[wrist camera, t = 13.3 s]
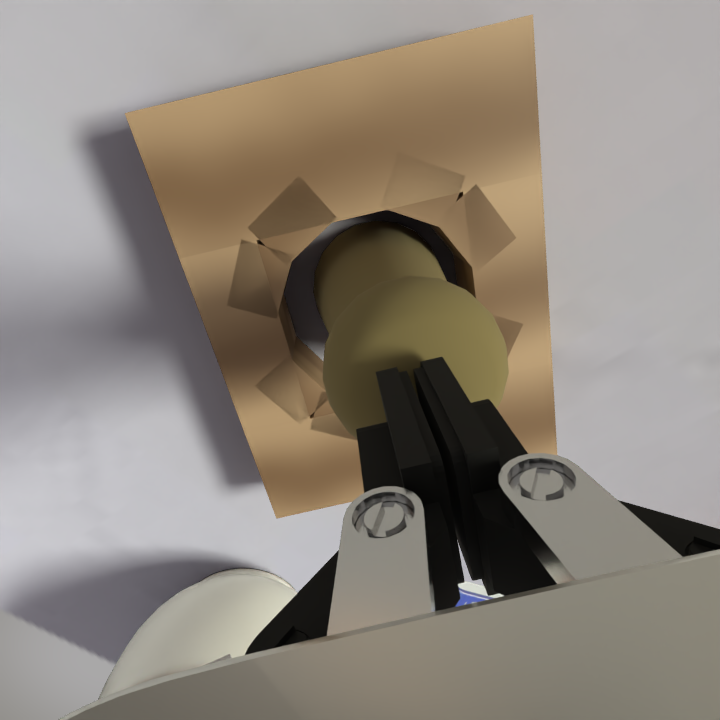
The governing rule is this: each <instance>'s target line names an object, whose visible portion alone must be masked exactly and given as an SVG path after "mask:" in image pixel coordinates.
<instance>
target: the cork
mask: <svg viewBox="0 0 720 720" xmlns="http://www.w3.org/2000/svg"><path fill="white" fill-rule="evenodd" d="M313 292H314V296H315V300H316V304H317V308H318V311H319V314H320V316H321V318H322V320H323V323H324V325H325V327H326V329H327V331H328V334H329V336H328V339H327V341H326V343H325V350H324V363H323V383H324V386H325V390H326V394H327V397H328V401H329V404H330V406H331V408H332V409H333V411H334V413H335V414H336V415H337V417H338V418H339V420H340V421H341V423H342V424H343V425H344V427H345V428H346V430H347V431H348V433H350V434H351V435H353V436H354V437H355V438H357V432H356V429H358V428H362V427H367V426H371V425H375V424H380V423H384V422H387V421H386V416H385V412H384V407H383V403H382V399H381V394H380V390H379V385H378V381H377V376H376V372H377V371H381V370H386V369H390V368H394V367H397V368H398V371H399V372H403V371H407V372H408V375H409V377H410V380H411V382H412V385H413V387H414V390H415V392H416V395H417V397H418V394H417V389H416V384H415V378H414V373H413V369H416V368H420V362H421V361H425V360H429V359H434V358H438V357H443V358H444V360H445V361H446V363H447V365H448V366H449V368H450V370H451V371H452V373H453V374H454V376H455V378H456V379H457V381H458V383H459V384H460V386H461V387H462V389H463V391H464V392H465V394H466V396H467V397H468V399H469V400H470V402H471V403H472V402H476V401H480V400H485V399H489V400H490V401H491V402H492V403H493V405H494V406H495V407H496V409H497V407H498V406H499V404H500V402H501V400H502V398H503V394H504V390H505V386H506V382H507V378H508V374H509V369H508V358H507V347H506V344H505V340H504V338H503V335H502V333H501V331H500V329H499V327H498V325H497V323H496V321H495V319H494V317H493V315H492V313H490V312H489V311H488V310H487V309H486V308H485V307H484V306H483V305H482V304H481V303H480V302H479V301H478V300H477V299H476V298H475V297H474V296H473V295H472V294H470V293H469V292H468V291H467V290H465V289H463V288H461V287H459V286H456V285H454V284H452V283H450V282H447V280H446V278H445V276H444V273H443V271H442V269H441V266H440V264H439V262H438V260H437V258H436V256H435V254H434V252H433V250H432V248H431V246H430V245H429V244H428V243H427V242H426V241H425V240H424V239H423V238H422V237H421V236H420V235H419V234H418V233H417V232H416V231H414V230H412V229H410V228H407V227H405V226H403V225H401V224H399V223H396V222H386V221H376V220H375V221H371V222H367V223H362V224H358V225H354V226H353V227H351V228H349V229H348V230H346V231H344V232H343V233H341V234H339V235H338V236H336V237H335V239H334V240H333V241H332V242H331V243H330V244H329V246H328V247H327V248H326V249H325V250H324V251H323V253H322V255H321V258H320V260H319V263H318V265H317V267H316V270H315V276H314V290H313ZM418 400H419V399H418Z"/></svg>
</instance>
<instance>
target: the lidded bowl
mask: <svg viewBox="0 0 720 720" xmlns="http://www.w3.org/2000/svg"><path fill="white" fill-rule="evenodd" d="M296 594H297V592H296V591H295V590H294V588H293V587H292V586H291V585H290V584H289V583H287V582H286V581H285V580H283V579H282V578H280V577H278V576H276V575H274V574H271V573H269V572H266V571H261V570H257V569H248V568H238V569H229V570H225V571H221V572H218V573H215V574H212V575H210V576H208V577H207V578H205V579H203V580H202V581H201V582H199V583H196V584H194V585H192V586H190V587H188V588H186V589H184V590H182V591H180V592H179V593H177V594H176V595H174V596H173V597H172V598H170V599H169V600H168V601H167V602H165V603H164V604H163V605H161V606H160V607H159V608H158V609H157V610H156V611H155V612H154V613H153V614H152V615H151V616H150V617H149V618H148V619H147V620H146V621H145V623H144V624H143V625H142V626H141V627H140V628H139V629H138V630H137V632H136V633H135V635H134V636H133V638H132V639H131V641H130V642H129V643H128V645H127V646H126V648H125V650H124V651H123V653H122V655H121V656H120V658H119V660H118V661H117V663H116V665H115V667H114V669H113V670H112V672H111V674H110V676H109V677H108V679H107V681H106V683H105V686H104V688H103V690H102V692H101V694H100V696H99V699H101V698H104V697H106V696H108V695H110V694H113V693H116V692H118V691H121V690H124V689H127V688H129V687H132V686H135V685H138V684H141V683H143V682H146V681H149V680H152V679H155V678H159V677H163V676H167V675H170V674H174V673H178V672H181V671H185V670H189V669H192V668H196V667H200V666H203V665H206V664H208V663H210V662H212V661H215V660H217V659H219V658H221V657H224V656H226V655H228V654H230V655H231V657H232V658H235V657H239V656H243V655H245V653H246V651H247V649H248V647H249V646H250V644H251V643H252V642H253V640H254V639H255V638H256V636H257V635H258V634H259V633H260V632H261V631H262V630H263V629H264V628H265V627H266V626H267V625H268V623H269V622H270V621H271V620H272V619H273V618H274V617H275V616H276V615H277V614H278V613H279V612H280V611H281V610H282V609H283V608H284V607H285V606H286V605H287V604H288V603H289V602H290V601H291V599H292V598H293V597H294V596H295V595H296ZM99 699H98V700H99Z"/></svg>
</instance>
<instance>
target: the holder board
mask: <svg viewBox="0 0 720 720" xmlns="http://www.w3.org/2000/svg"><path fill="white" fill-rule="evenodd" d="M125 115H126V118H127V120H128V123H129V126H130V128H131V131H132V134H133V136H134V139H135V142H136V144H137V147H138V150H139V152H140V155H141V158H142V160H143V163H144V166H145V168H146V171H147V174H148V176H149V179H150V182H151V185H152V187H153V190H154V193H155V195H156V198H157V201H158V203H159V206H160V209H161V211H162V214H163V217H164V219H165V222H166V225H167V227H168V230H169V233H170V235H171V238H172V241H173V243H174V246H175V249H176V251H177V254H178V257H179V259H180V262H181V265H182V267H183V270H184V273H185V275H186V278H187V281H188V283H189V286H190V289H191V291H192V294H193V297H194V299H195V302H196V305H197V307H198V310H199V313H200V315H201V318H202V321H203V323H204V326H205V329H206V331H207V334H208V337H209V339H210V342H211V345H212V347H213V350H214V353H215V355H216V358H217V361H218V363H219V366H220V369H221V371H222V374H223V377H224V379H225V382H226V385H227V387H228V390H229V393H230V395H231V398H232V401H233V403H234V406H235V409H236V411H237V414H238V417H239V419H240V422H241V425H242V427H243V430H244V433H245V435H246V438H247V441H248V443H249V446H250V449H251V451H252V454H253V457H254V459H255V462H256V465H257V467H258V470H259V473H260V476H261V478H262V481H263V484H264V486H265V489H266V492H267V494H268V497H269V500H270V502H271V505H272V508H273V510H274V513H275V516H276V518H281V517H285V516H290V515H294V514H299V513H303V512H308V511H312V510H316V509H321V508H325V507H330V506H334V505H339V504H343V503H348V502H352V501H354V500H355V499H356V498H357V497H359V496H360V495H361V494H363V493H364V488H363V480H362V472H361V464H360V456H359V448H358V440H357V438H355V437H354V436H353V435H351V434H350V433H348V431H347V430H346V428H345V427H344V425H343V424H342V423H341V421H340V420H339V418H338V417H337V415H336V414H335V413H334V411H333V409H332V408H331V406H330V404H329V401H328V397H327V394H326V390H325V386H324V383H323V363H324V362H323V361H322V360H321V359H320V358H319V357H318V356H317V355H316V354H315V353H314V352H313V351H312V350H311V349H309V348H308V347H307V346H306V345H305V344H304V343H303V342H302V341H301V340H300V339H299V338H298V337H297V336H296V334H295V331H294V327H293V324H292V320H291V317H290V314H289V310H288V307H287V303H286V300H285V296H284V290H285V286H286V282H287V279H288V275H289V271H290V267H291V263H292V261H293V260H294V259H295V258H296V257H297V256H298V255H299V254H300V253H301V252H302V251H303V250H304V249H305V248H306V247H307V246H308V245H309V244H310V243H311V242H312V241H313V240H314V239H315V238H316V237H317V236H318V235H319V234H320V233H321V232H323V231H324V230H325V229H326V228H327V227H328V226H329V225H330V224H331V223H333V222H337V221H341V220H345V219H350V218H354V217H358V216H362V215H367V214H371V213H375V212H379V211H383V210H389V211H392V212H396V213H399V214H402V215H405V216H408V217H411V218H414V219H417V220H420V221H423V222H426V223H428V224H429V225H430V226H431V228H432V229H433V230H434V231H435V232H436V234H437V235H438V236H439V237H440V239H441V240H442V241H443V242H444V243H445V245H446V246H447V247H448V248H449V250H450V251H451V252H452V253H453V257H454V265H455V272H456V280H457V286H459V287H461V288H463V289H465V290H467V291H468V292H469V293H470V294H472V295H473V296H474V297H475V298H476V299H477V300H478V301H479V302H480V303H481V304H482V305H483V306H484V307H485V308H486V309H487V310H488V311H489V312H490V313H492V315H493V317H494V319H495V321H496V323H497V325H498V327H499V329H500V331H501V333H502V335H503V338H504V340H505V344H506V347H507V358H508V369H509V374H508V378H507V382H506V386H505V390H504V394H503V398H502V400H501V402H500V404H499V406H498V407H497V410H498V412H499V413H500V414H501V416H502V417H503V419H504V420H505V422H506V423H507V424H508V426H509V427H510V429H511V430H512V432H513V433H514V434H515V436H516V437H517V439H518V440H519V442H520V443H521V444H522V446H523V447H524V449H525V450H526V451H527V453H528V454H530V453H547V454H553V455H557V443H556V425H555V407H554V389H553V371H552V353H551V335H550V316H549V298H548V280H547V262H546V244H545V226H544V208H543V190H542V172H541V154H540V136H539V118H538V100H537V82H536V64H535V46H534V28H533V15H529V16H525V17H521V18H517V19H512V20H508V21H504V22H500V23H496V24H492V25H488V26H483V27H479V28H475V29H471V30H467V31H463V32H459V33H455V34H450V35H446V36H442V37H438V38H434V39H430V40H426V41H421V42H417V43H413V44H409V45H405V46H401V47H397V48H393V49H388V50H384V51H380V52H376V53H372V54H368V55H364V56H359V57H355V58H351V59H347V60H343V61H339V62H335V63H331V64H326V65H322V66H318V67H314V68H310V69H306V70H302V71H297V72H293V73H289V74H285V75H281V76H277V77H273V78H269V79H264V80H260V81H256V82H252V83H248V84H244V85H240V86H235V87H231V88H227V89H223V90H219V91H215V92H211V93H207V94H202V95H198V96H194V97H190V98H186V99H182V100H178V101H173V102H169V103H165V104H161V105H157V106H153V107H149V108H145V109H140V110H136V111H132V112H128V113H125Z"/></svg>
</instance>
